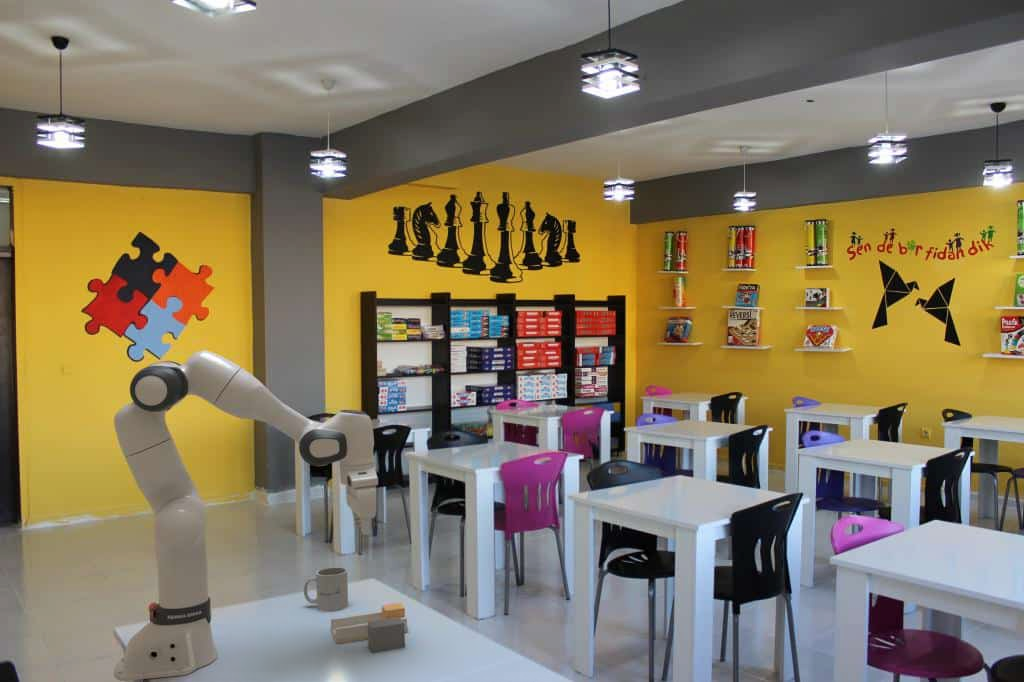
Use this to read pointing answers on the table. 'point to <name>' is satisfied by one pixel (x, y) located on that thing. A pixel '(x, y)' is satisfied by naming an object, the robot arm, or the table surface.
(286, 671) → the table surface
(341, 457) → the robot arm
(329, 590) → the mug
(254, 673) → the table surface
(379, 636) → the block
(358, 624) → the rail
